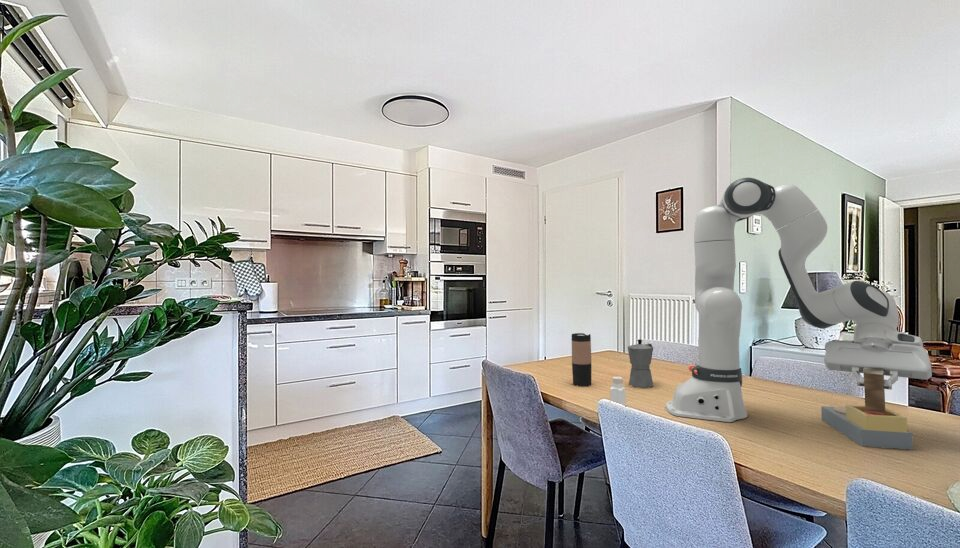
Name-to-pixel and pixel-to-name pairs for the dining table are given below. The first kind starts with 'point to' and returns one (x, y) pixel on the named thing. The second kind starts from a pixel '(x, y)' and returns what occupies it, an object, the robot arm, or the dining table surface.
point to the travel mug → (581, 359)
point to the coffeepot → (640, 365)
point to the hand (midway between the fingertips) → (874, 386)
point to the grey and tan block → (869, 426)
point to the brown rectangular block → (874, 389)
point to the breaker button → (874, 413)
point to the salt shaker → (618, 391)
